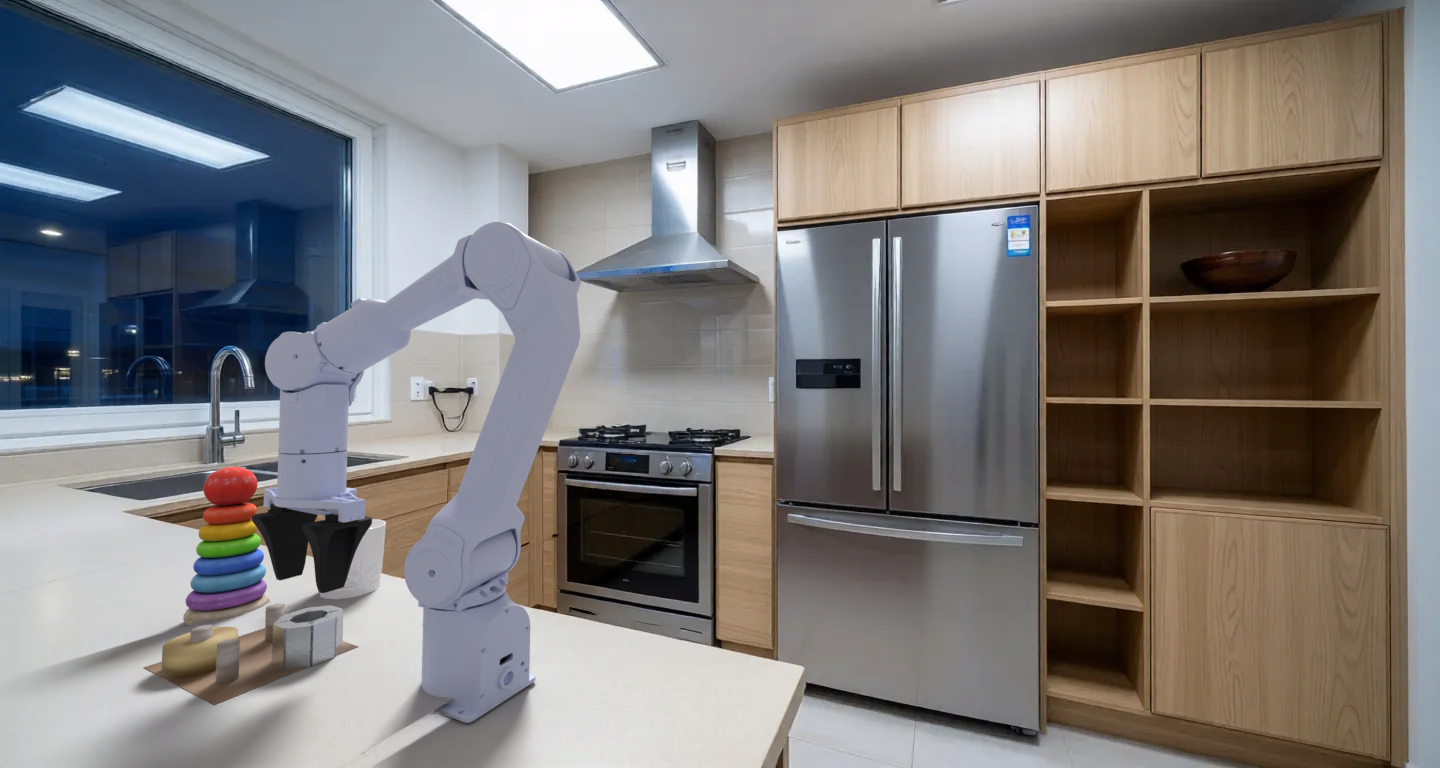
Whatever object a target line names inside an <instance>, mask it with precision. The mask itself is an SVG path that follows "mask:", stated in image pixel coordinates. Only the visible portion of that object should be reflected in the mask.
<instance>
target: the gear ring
mask: <svg viewBox="0 0 1440 768" xmlns="http://www.w3.org/2000/svg"><path fill="white" fill-rule="evenodd" d="M343 631H344V608H341V607H338V606H334V605H330V604H329V605H321V606H320V605H319V606H312V607H311V606H310V607H307V608H306V607H305V608H302V609H299V610H296V611H292V612H290V613H286V614H284V616H281V617H280V618H279V619H278V620H277V621H276V622H274V623H273V640H272V665H273V666H275V667H277V668H280V669H282V670H284V669H285V670H289V669H296V668H304V667H308V668H309V667H314V666H316V665H318V664H321V663H323V662H324V663H325V661H329V660H331V659H333V658H335V657H337V656H338V655H337V654H338V653H339V651H340V650H341V649H342V643H343V641H344V639H343V638H344V637H343V635H344V632H343ZM336 655H337V656H336ZM334 656H335V657H334Z"/></svg>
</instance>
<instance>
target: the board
mask: <svg viewBox="0 0 1440 768" xmlns="http://www.w3.org/2000/svg"><path fill="white" fill-rule="evenodd" d="M285 606H286V604H285V603H274V604H271V605H268V606H266V607H265V621H264V622H265V627H264V628H261V629H257V630H253V631H251V632H248V633H245V634H243V635H239V629H238V628H236V627H235V626H233V627H232V626H216V627H214V626H213V624H203V625H199V626H197V627H194V628H192V629H190V632H188V633H184V634H181V635H179V636H177V637H173V638H171V639H170V640H168V641H166V642H164V644H163V645H162V646H161V647H162V649H161V661H158V662H156V663H153V664H149V665H146V666H144V667H143V669H145V670H147V671H149V672H151V673H153V674H155V675H156V676H157V677H160V678H162V679H164V680H166V681H167V682H170V683H171V684H172V685H175V686H177V687H179V688H181V689H182V690H185V691H187V693H191V694H192V695H194V696H196V697H197V698H199V699H201V700H204V702H207V703H209V704H211V705H213V706H216V705H218V704H221V703H224V702H226V701H228V700H230V699H234V698H236V697H238V696H241V695H243V694H245V693H248V692H251V691H253V690H256V689H258V688H261V687H263V686H265V685H268V684H270V683H273V682H275V681H278V680H280V679H283V678H285V677H288V676H290V675H293V674H295V673H298V672H301V671H303V670H305V669H308V668H309V667H304V668H296V669H289V670H285V669H284V670H282V669H280V668H277V667H275V666H273V665H272V640H273V623H274V622H276V621H277V620H278V619H279V618H280V617H281V616H284V615H285V611H286V609H285V608H286V607H285ZM356 648H359V645H356V644H352V643H349V642H347V641H344V640H343V643H342V649H341V650H340V651H339V653H338V654H337V655H336V656H334V657H333V658H335V657H337V656H339V655H343V654H344V653H347V652H350V651H352V650H355V649H356Z"/></svg>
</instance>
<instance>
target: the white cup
mask: <svg viewBox="0 0 1440 768" xmlns="http://www.w3.org/2000/svg"><path fill="white" fill-rule="evenodd" d="M386 526H387V522H386V520H383V519H378V518H372V525H371V526H370V527H369V529H368V530H367V531H366V533H365V535H364V536H363V538H362V540H361V542H360V543H359V545H358V548H357V550H356V552H355V555H354V557H353V560H352V563H351V567H350V570H349V573H348V576H347V579H346V582H345V585H344V587H343V588H340V589H336V590H333V591H330V592H326V593H320V592H319V597H320V598H322V599H326V600H342V599H351V598H357V597H361V596H365V595H367V594H369V593H371V592H375V591H376V590H377V589H379V588H380V587H381V585H380V584H381V575H382V573H383V563H384V553H385V540H386Z"/></svg>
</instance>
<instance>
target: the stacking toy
mask: <svg viewBox="0 0 1440 768" xmlns="http://www.w3.org/2000/svg"><path fill="white" fill-rule="evenodd" d="M257 489H258V479H257V477H256V475H255V473H254V472H252V471H251V470H250V469H247V468H245V467H242V466H226V467H222V468H219V469H217V470H215V471H213V472H212V473H211V474H210V475H209V476H208V477H207V478H206V480H205V481H204V484H203V494H204V497H205V498H206V500H207V501H208V502H209V503H211V504H212V505H214V506H210V507H208V508H206V510H204V512H203V515H202V519H203V521H205V523H207V524H204V525H203V526H202V527H201V528H199V531H198V537H199V539H200V540H202V541H201V542H199V543H198V545H197V546H196V549H195V552H196V554H197V556H199V557H198V558H197V559H196V560H195V561H194V563H193V567H192V568H193V571H194V572H195V575H194V576H193V577H192V578H191V580H190V588H191V590H192V591H190V592H189V593H188V595H187V596H186V598H185V605H186V607H187V609H186V611H185V612H184V613H183V618H182V620H183V622H184V623H185V624H186V625H187V626H192V625H195V624H199V623H203V622H206V621H207V622H208V621H217V620H222V619H227V618H234V617H236V616H240V615H244V614H247V613H250V612H253V611H256V610H258V609H260V608H263V607H264V606H266V605H268V604H269V603H270V602H271V601H270V597H269V596H268V595H267V594H266V592H267V588H268V585H267V582H266V581H265V580H264V579H263V578H264V577H265V575H266V573H267V569H266V566H265V565H264V564H262V563H263V561H264V558H265V554H264V552H263V550H261V549H259V548H260V545H261V543H262V538H261V536H259V535H258V534H256V532H257V531H258V528H257V527H256V525H255V524H254V523H253V522H252V516H253V515H255V514H257V512H258V508H257V506H256V505H255V504H253V503H250V502H248V501H250V500H251V499H252V498H253V496H254V495H255V494H256V491H257Z"/></svg>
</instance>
